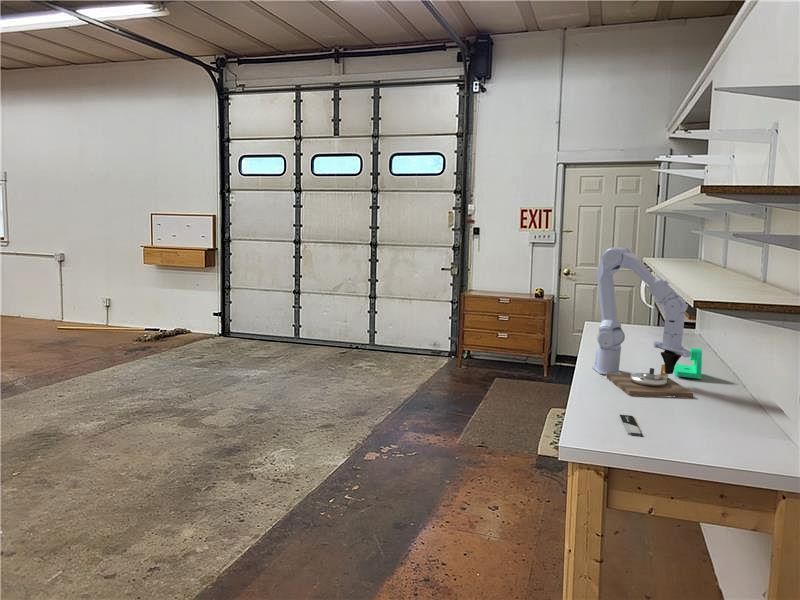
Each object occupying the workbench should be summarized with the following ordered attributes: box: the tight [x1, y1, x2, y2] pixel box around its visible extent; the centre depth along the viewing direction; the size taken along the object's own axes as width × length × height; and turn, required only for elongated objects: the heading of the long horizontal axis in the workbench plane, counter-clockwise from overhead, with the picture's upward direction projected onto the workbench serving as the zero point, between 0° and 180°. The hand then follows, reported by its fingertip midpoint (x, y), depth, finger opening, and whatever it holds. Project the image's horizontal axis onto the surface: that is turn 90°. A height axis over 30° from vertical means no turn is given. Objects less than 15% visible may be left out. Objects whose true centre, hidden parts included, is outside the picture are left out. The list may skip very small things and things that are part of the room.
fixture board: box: [605, 373, 694, 399], centre depth 194 cm, size 20×20×2 cm
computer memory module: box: [619, 414, 645, 438], centre depth 157 cm, size 15×1×4 cm
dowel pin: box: [648, 367, 655, 375], centre depth 199 cm, size 1×1×3 cm
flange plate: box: [630, 363, 669, 386], centre depth 194 cm, size 15×11×5 cm
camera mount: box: [673, 347, 703, 380], centre depth 210 cm, size 12×8×10 cm, turn 160°
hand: (668, 373), depth 197 cm, fingers closed
